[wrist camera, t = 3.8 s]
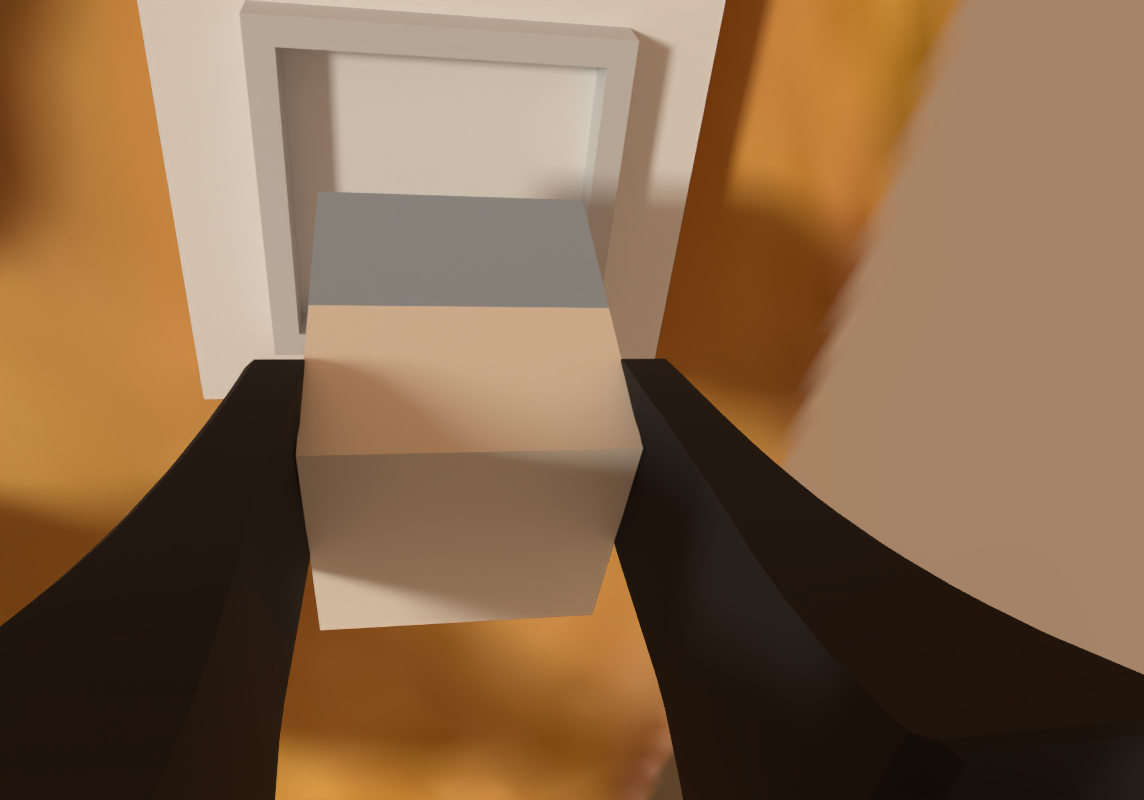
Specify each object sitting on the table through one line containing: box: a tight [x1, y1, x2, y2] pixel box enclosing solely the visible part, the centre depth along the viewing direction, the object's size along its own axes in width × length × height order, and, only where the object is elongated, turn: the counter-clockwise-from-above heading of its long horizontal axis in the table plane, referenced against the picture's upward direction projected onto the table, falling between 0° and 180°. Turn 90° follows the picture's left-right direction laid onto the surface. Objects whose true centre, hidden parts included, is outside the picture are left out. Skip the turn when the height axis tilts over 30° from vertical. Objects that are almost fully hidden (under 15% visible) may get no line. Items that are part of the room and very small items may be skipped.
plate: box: [137, 0, 726, 399], centre depth 18 cm, size 10×10×2 cm
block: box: [296, 191, 643, 630], centre depth 13 cm, size 4×4×5 cm
